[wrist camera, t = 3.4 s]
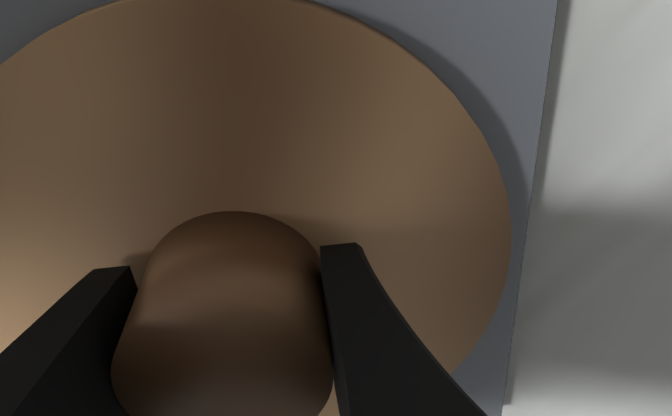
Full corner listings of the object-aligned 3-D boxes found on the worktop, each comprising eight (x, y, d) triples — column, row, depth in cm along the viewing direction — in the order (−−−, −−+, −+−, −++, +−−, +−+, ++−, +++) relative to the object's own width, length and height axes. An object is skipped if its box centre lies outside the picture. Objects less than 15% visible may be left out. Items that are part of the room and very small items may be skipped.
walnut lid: (525, -51, 8) (630, -18, 5) (484, 404, 13) (528, 524, 11) (-179, 25, 8) (-396, 94, 5) (71, 453, 13) (20, 584, 10)
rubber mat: (557, -91, 8) (569, -90, 7) (496, 404, 14) (500, 418, 13) (-212, -20, 8) (-236, -16, 7) (59, 451, 13) (53, 466, 13)
